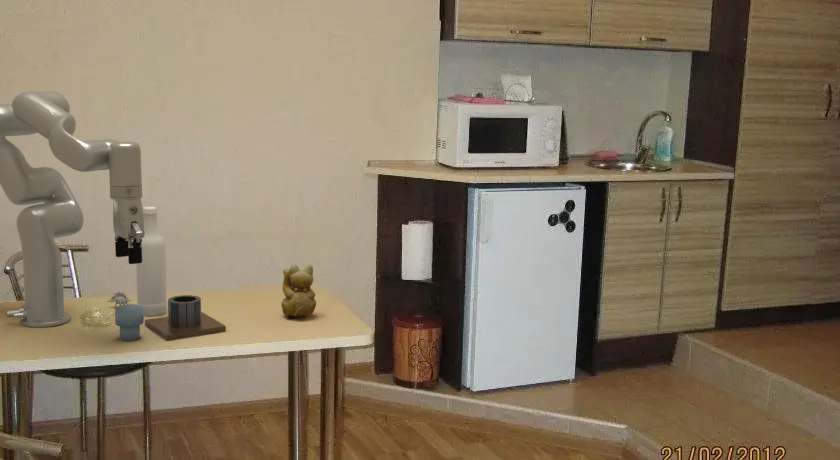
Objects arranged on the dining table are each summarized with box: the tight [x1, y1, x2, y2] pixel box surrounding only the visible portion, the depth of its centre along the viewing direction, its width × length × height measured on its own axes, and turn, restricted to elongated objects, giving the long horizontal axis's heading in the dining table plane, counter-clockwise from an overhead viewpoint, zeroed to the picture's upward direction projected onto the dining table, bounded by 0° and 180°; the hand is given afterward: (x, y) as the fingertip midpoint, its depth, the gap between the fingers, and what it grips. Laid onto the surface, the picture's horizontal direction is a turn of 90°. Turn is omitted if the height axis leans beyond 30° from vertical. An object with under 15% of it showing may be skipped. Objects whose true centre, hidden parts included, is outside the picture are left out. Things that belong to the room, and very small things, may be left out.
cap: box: [114, 303, 145, 342], centre depth 221 cm, size 7×7×8 cm
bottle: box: [136, 206, 168, 317], centre depth 242 cm, size 8×8×30 cm
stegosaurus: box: [106, 291, 132, 308], centre depth 249 cm, size 2×7×5 cm, turn 115°
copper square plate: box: [144, 294, 227, 342], centre depth 231 cm, size 16×16×8 cm
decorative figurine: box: [281, 263, 317, 320], centre depth 244 cm, size 10×8×15 cm
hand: (128, 259), depth 218 cm, fingers open, 9 cm apart
